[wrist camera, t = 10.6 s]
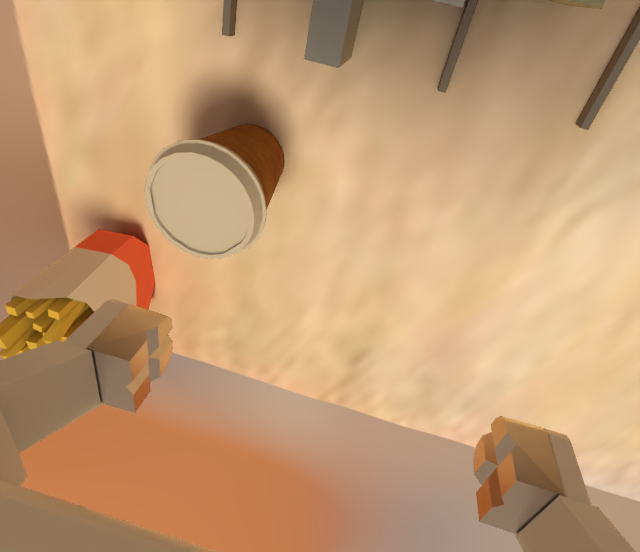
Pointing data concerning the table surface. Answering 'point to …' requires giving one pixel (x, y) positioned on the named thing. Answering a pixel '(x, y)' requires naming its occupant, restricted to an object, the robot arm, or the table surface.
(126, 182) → the table surface
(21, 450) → the robot arm
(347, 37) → the grey open rectangular tray
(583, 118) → the lane rails
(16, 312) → the french fries container
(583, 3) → the cube lane
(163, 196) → the disposable coffee cup
